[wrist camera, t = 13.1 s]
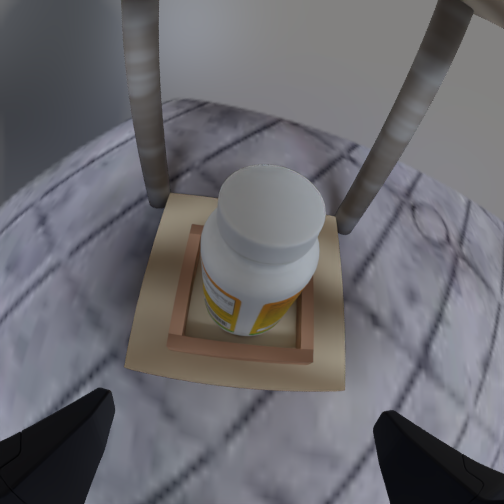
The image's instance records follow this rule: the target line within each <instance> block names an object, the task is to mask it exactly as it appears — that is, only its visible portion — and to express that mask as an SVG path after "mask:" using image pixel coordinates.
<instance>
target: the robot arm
mask: <svg viewBox="0 0 504 504" xmlns="http://www.w3.org/2000/svg"><path fill="white" fill-rule="evenodd" d="M114 414H115V405H114V401H113V396H112V392H111V391H110V390H107V389H104V388H97V389H95V390H93V391H92V392H90V393H88V394H87V395H85V396H83V397H81V398H80V399H78V400H76V401H75V402H73V403H71V404H69V405H68V406H66V407H64V408H62V409H61V410H59V411H57V412H55V413H53V414H52V415H50V416H48V417H46V418H44V419H43V420H41V421H39V422H37V423H35V424H34V425H32V426H30V427H28V428H26V429H24V430H22V433H21V432H18V433H17V434H15V435H13V436H11V437H9V438H7V439H4V440H2V441H0V504H84V503H85V500H86V497H87V494H88V492H89V489H90V486H91V484H92V481H93V478H94V476H95V473H96V471H97V468H98V465H99V463H100V460H101V458H102V455H103V453H104V450H105V447H106V443H107V439H108V436H109V432H110V428H111V425H112V421H113V417H114ZM373 434H374V439H375V445H376V450H377V456H378V461H379V466H380V469H381V473H382V476H383V480H384V483H385V486H386V490H387V494H388V497H389V501H390V504H504V474H503V473H501V472H498V471H496V470H493V469H491V468H489V467H486V466H484V465H482V464H480V463H478V462H476V461H474V460H472V459H471V458H469V457H467V456H465V455H464V454H462V453H460V452H459V451H457V450H455V449H454V448H452V447H450V446H449V445H447V444H445V443H444V442H442V441H441V440H439V439H437V438H436V437H434V436H433V435H431V434H429V433H428V432H426V431H425V430H423V429H422V428H420V427H419V426H417V425H415V424H414V423H412V422H411V421H409V420H408V419H406V418H405V417H403V416H402V415H400V414H399V413H397V412H396V411H394V410H389V411H384V412H382V414H381V415H380V417H379V418H378V420H377V422H376V423H375V425H374V428H373Z"/></svg>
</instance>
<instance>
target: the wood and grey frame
mask: <svg viewBox="0 0 504 504" xmlns="http://www.w3.org/2000/svg"><path fill="white" fill-rule="evenodd" d="M121 7H122V31H123V45H124V57H125V67H126V76H127V84H128V92H129V99H130V106H131V113H132V119H133V125H134V131H135V137H136V142H137V148H138V153H139V158H140V163H141V168H142V172H143V177H144V182H145V186H146V190H147V195H148V199H149V203H150V205H151V206H152V207H154V208H164V207H165V209H164V212H163V215H162V218H161V221H160V224H159V228H158V231H157V234H156V237H155V240H154V244H153V247H152V250H151V254H150V257H149V261H148V264H147V268H146V272H145V275H144V279H143V283H142V287H141V291H140V295H139V299H138V303H137V307H136V311H135V316H134V320H133V325H132V329H131V334H130V339H129V344H128V349H127V354H126V360H125V365H124V367H125V368H127V369H130V370H134V371H139V372H143V373H148V374H152V375H157V376H162V377H167V378H172V379H178V380H184V381H190V382H196V383H203V384H210V385H218V386H226V387H235V388H246V389H258V390H274V391H304V392H325V391H343V390H345V325H344V303H343V286H342V273H341V261H340V250H339V241H338V233H340V234H343V235H347V234H349V233H351V231H352V230H353V228H354V227H355V225H356V224H357V223H358V221H359V220H360V218H361V217H362V215H363V214H364V212H365V211H366V209H367V208H368V206H369V205H370V203H371V202H372V200H373V199H374V197H375V196H376V194H377V193H378V191H379V190H380V188H381V187H382V185H383V184H384V182H385V181H386V179H387V177H388V176H389V174H390V173H391V171H392V170H393V168H394V166H395V165H396V163H397V161H398V160H399V158H400V157H401V155H402V153H403V152H404V150H405V148H406V146H407V145H408V143H409V142H410V140H411V138H412V136H413V135H414V133H415V131H416V130H417V128H418V126H419V124H420V122H421V121H422V119H423V117H424V115H425V114H426V112H427V110H428V108H429V106H430V104H431V103H432V101H433V99H434V97H435V95H436V93H437V91H438V89H439V87H440V85H441V84H442V81H443V80H444V77H445V76H446V73H447V71H448V69H449V67H450V65H451V63H452V61H453V59H454V57H455V55H456V53H457V50H458V48H459V46H460V44H461V41H462V39H463V37H464V34H465V32H466V30H467V27H468V25H469V23H470V20H471V17H472V15H473V14H475V15H477V16H479V17H481V18H484V19H486V20H488V21H490V22H492V23H494V24H496V25H498V26H499V27H501V28H503V29H504V0H438V2H437V5H436V8H435V11H434V13H433V16H432V18H431V21H430V23H429V26H428V29H427V31H426V34H425V36H424V38H423V41H422V43H421V45H420V48H419V50H418V53H417V55H416V57H415V59H414V62H413V64H412V66H411V69H410V71H409V73H408V75H407V77H406V80H405V82H404V84H403V86H402V88H401V90H400V93H399V95H398V97H397V99H396V101H395V103H394V105H393V107H392V109H391V112H390V113H389V115H388V117H387V119H386V121H385V124H384V125H383V127H382V129H381V132H380V133H379V135H378V138H377V139H376V141H375V143H374V145H373V147H372V149H371V151H370V153H369V155H368V156H367V158H366V160H365V162H364V164H363V166H362V168H361V170H360V171H359V173H358V175H357V177H356V179H355V181H354V182H353V184H352V186H351V188H350V190H349V191H348V193H347V195H346V197H345V199H344V200H343V202H342V204H341V206H340V207H339V209H338V211H337V213H336V214H335V216H329V215H326V216H325V222H324V225H323V227H322V229H321V231H320V233H319V235H318V241H319V249H320V252H319V261H318V265H317V268H316V270H315V272H314V274H313V276H312V278H311V279H310V281H309V282H308V284H307V285H306V287H305V288H304V289H303V291H302V292H301V293H300V295H299V296H298V297H297V299H296V300H295V301H294V303H293V304H292V305H291V307H290V308H289V309H288V311H287V312H286V313H285V315H284V316H283V317H282V319H281V320H280V321H279V322H278V323H277V324H276V325H275V326H274V327H273V328H272V329H270V330H269V331H267V332H265V333H262V334H260V335H256V336H238V335H234V334H231V333H229V332H227V331H225V330H223V329H222V328H220V327H219V326H218V325H217V324H216V323H215V322H214V321H213V320H212V318H211V317H210V315H209V313H208V311H207V308H206V305H205V300H204V291H203V279H202V264H201V234H202V231H203V227H204V225H205V223H206V221H207V219H208V217H209V216H210V215H211V213H212V212H213V211H214V210H215V209H216V208H217V206H218V198H211V197H203V196H195V195H186V194H177V193H171V189H170V182H169V174H168V166H167V157H166V148H165V139H164V128H163V117H162V104H161V91H160V90H161V89H160V69H159V27H158V25H159V0H121Z"/></svg>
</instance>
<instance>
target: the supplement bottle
mask: <svg viewBox="0 0 504 504" xmlns="http://www.w3.org/2000/svg"><path fill="white" fill-rule="evenodd" d="M325 216H326V211H325V204H324V200H323V198H322V196H321V194H320V193H319V191H318V190H317V188H316V187H315V186H314V185H313V184H312V183H311V182H310V181H309V180H308V179H306V178H305V177H304V176H302V175H300V174H299V173H297V172H295V171H293V170H291V169H288V168H285V167H281V166H277V165H269V164H260V165H252V166H248V167H245V168H242V169H240V170H238V171H236V172H234V173H233V174H232V175H230V176H229V177H228V178H227V179H226V180H225V182H224V183H223V185H222V187H221V189H220V192H219V196H218V206H217V208H216V209H215V210H214V211H213V212H212V213H211V215H210V216H209V217H208V219H207V221H206V223H205V225H204V227H203V231H202V234H201V264H202V279H203V291H204V300H205V305H206V308H207V311H208V313H209V315H210V317H211V318H212V320H213V321H214V322H215V323H216V324H217V325H218V326H219V327H220V328H222V329H223V330H225V331H227V332H229V333H231V334H234V335H238V336H256V335H260V334H262V333H265V332H267V331H269V330H270V329H272V328H273V327H274V326H275V325H276V324H277V323H278V322H279V321H280V320H281V319H282V317H283V316H284V315H285V313H286V312H287V311H288V309H289V308H290V307H291V305H292V304H293V303H294V301H295V300H296V299H297V297H298V296H299V295H300V293H301V292H302V291H303V289H304V288H305V287H306V285H307V284H308V282H309V281H310V279H311V278H312V276H313V274H314V272H315V270H316V268H317V265H318V261H319V252H320V249H319V241H318V235H319V233H320V231H321V229H322V227H323V225H324V222H325Z"/></svg>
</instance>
